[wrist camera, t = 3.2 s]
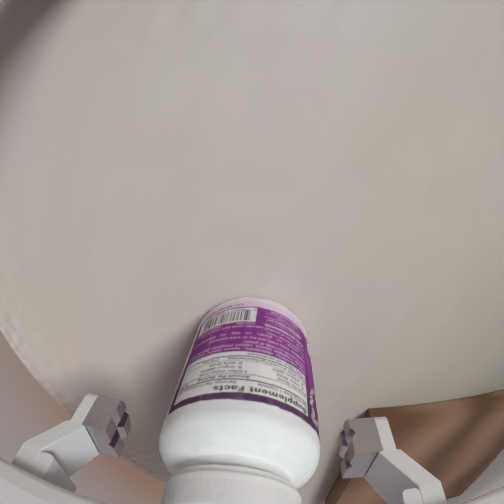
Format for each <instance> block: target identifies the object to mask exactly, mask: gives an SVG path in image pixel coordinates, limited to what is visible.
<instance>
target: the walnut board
mask: <svg viewBox="0 0 504 504" xmlns="http://www.w3.org/2000/svg"><path fill="white" fill-rule="evenodd" d="M370 417H371V418H374V417H386V418H387V420H388V423H389V426H390V429H391V433H392V436H393V439H394V442H395V446H396V449H401V450H402V451H403V452H404V453H406V454H407V455H408V456H409V457H411V458H412V459H413V460H414V461H416V462H417V463H418V464H419V465H421V466H422V467H423V468H424V469H426V470H427V471H428V472H429V473H431V474H432V475H433V476H434V477H436V478H437V479H438V480H440V481H441V485H442V488H443V491H444V494H445V497H446V499H449V498H452V497H456V496H459V495H461V494H462V493H463V492H464V491H465V490H466V489H467V488H468V487H469V486H470V485H471V484H472V483H473V482H474V481H475V480H476V479H477V478H478V477H479V476H480V475H481V473H482V472H483V471H484V470H485V469H486V468H487V467H488V466H489V465H490V464H491V462H492V461H493V460H494V459H495V458H496V457H497V455H498V454H499V453H500V452H501V451H502V449H503V448H504V390H501V391H496V392H492V393H487V394H482V395H477V396H472V397H466V398H460V399H454V400H448V401H441V402H434V403H427V404H418V405H409V406H399V407H388V408H374V409H368V411H367V414H366V416H365V418H370ZM325 504H387V503H386V502H385V501H384V500H383V499H382V498H381V497H380V495H379V494H378V493H377V492H376V491H375V490H374V489H373V488H372V486H371V485H370V484H369V483H368V482H367V481H366V480H365V479H364V477H356V478H342V472H340V474H339V476H338V478H337V480H336V482H335V484H334V486H333V488H332V489H331V491H330V493H329V495H328V497H327V499H326V501H325Z"/></svg>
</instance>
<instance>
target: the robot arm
mask: <svg viewBox="0 0 504 504" xmlns="http://www.w3.org/2000/svg"><path fill="white" fill-rule="evenodd" d="M125 409H126V406H125V403H124V402H122V401H118V400H114V399H110V398H106V397H103V396H99V395H95V394H91V393H88V394H87V395H85V397H84V398H83V400H82V402H81V403H80V405H79V407H78V408H77V410H76V412H75V413H74V415H73V417H72V418H71V420H70V421H69V420H66V421H64V422H62V423H61V424H59V425H57V426H55V427H53V428H51V429H49V430H47V431H45V432H43V433H41V434H39V435H37V436H35V437H33V438H31V439H29V440H27V441H25V442H24V443H23V445H22V447H21V449H20V450H19V452H18V453H17V455H16V457H15V458H14V460H13V461H12V463H10V462H8V461H6V460H4V459H2V458H1V457H0V504H105V503H102V502H99V501H96V500H93V499H90V498H87V497H84V496H82V495H79V494H77V493H75V491H76V486H75V484H74V483H73V482H72V481H71V480H70V478H69V476H71V475H72V474H74V473H75V472H76V471H78V470H79V469H80V468H82V467H83V466H84V465H86V464H87V463H88V462H90V461H91V460H92V459H94V458H95V457H96V456H98V455H99V453H102V454H106V455H109V456H113V457H118V458H119V456H120V453H121V451H122V449H123V446H124V444H123V442H122V440H123V439H125V438H126V437H128V434H129V431H130V425H131V423H130V417H129V415H128V414H127V413H126V412H125ZM343 426H344V431H342V432H341V433H340V436H339V442H338V451H339V455H340V456H341V457H342V458H343V460H342V462H341V464H340V465H341V472H342V478H356V477H364V479H365V480H366V481H367V482H368V483H369V484H370V485H371V486H372V488H373V489H374V490H375V491H376V492H377V493H378V494H379V495H380V497H381V498H382V499H383V500H384V501H385V502H386V503H387V504H447V500H446V497H445V494H444V491H443V488H442V485H441V481H440V480H438V479H437V478H436V477H434V476H433V475H432V474H431V473H429V472H428V471H427V470H426V469H424V468H423V467H422V466H421V465H419V464H418V463H417V462H416V461H414V460H413V459H412V458H411V457H409V456H408V455H407V454H406V453H404V452H403V451H402V450H401V449H396V446H395V442H394V439H393V436H392V433H391V429H390V426H389V423H388V420H387V418H386V417H374V418H371V417H370V418H358V419H346V421H345V422H344V425H343ZM460 504H504V487H502V488H499V489H497V490H495V491H492V492H490V493H487V494H485V495H482V496H480V497H477V498H474V499H472V500H469V501H466V502H463V503H460Z"/></svg>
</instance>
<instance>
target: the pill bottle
mask: <svg viewBox="0 0 504 504" xmlns="http://www.w3.org/2000/svg"><path fill="white" fill-rule="evenodd" d="M159 452H160V456H161V458H162V461H163V463H164V465H165V466H166V468H167V469H168V471H169V472H170V473H171V474H172V476H171V478H170V479H169V480H168V481H167V483H166V485H165V490H164V494H163V499H162V503H161V504H302V498H301V496H300V494H299V493H298V490H297V489H299V488H300V487H302V486H303V485H304V484H305V483H306V482H307V481H308V480H309V479H310V478H311V476H312V475H313V474H314V472H315V470H316V468H317V466H318V462H319V458H320V438H319V430H318V417H317V409H316V401H315V392H314V383H313V375H312V366H311V358H310V350H309V344H308V338H307V335H306V332H305V329H304V327H303V325H302V324H301V322H300V321H299V319H298V318H297V317H296V316H295V315H294V314H293V313H292V312H291V311H289V310H288V309H287V308H285V307H283V306H282V305H280V304H278V303H276V302H273V301H271V300H267V299H262V298H252V297H242V298H237V299H233V300H229V301H226V302H224V303H222V304H220V305H218V306H217V307H215V308H214V309H212V310H211V311H210V312H209V313H208V314H207V315H206V316H205V317H204V318H203V319H202V321H201V323H200V325H199V327H198V329H197V333H196V336H195V338H194V341H193V344H192V346H191V349H190V352H189V354H188V357H187V360H186V363H185V366H184V368H183V371H182V374H181V377H180V379H179V382H178V385H177V387H176V390H175V393H174V395H173V398H172V401H171V404H170V406H169V409H168V412H167V414H166V417H165V420H164V423H163V426H162V429H161V432H160V435H159Z"/></svg>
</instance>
